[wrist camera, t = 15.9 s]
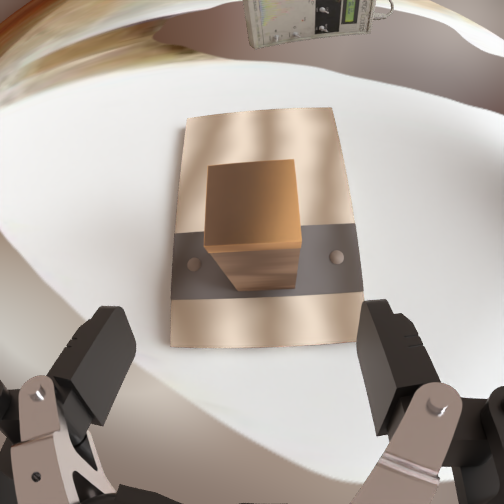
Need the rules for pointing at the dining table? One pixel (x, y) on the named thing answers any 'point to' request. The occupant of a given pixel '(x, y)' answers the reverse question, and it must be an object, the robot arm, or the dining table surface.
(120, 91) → the dining table surface
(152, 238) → the dining table surface
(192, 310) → the subfloor panel
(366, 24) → the geiger counter
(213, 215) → the walnut block
